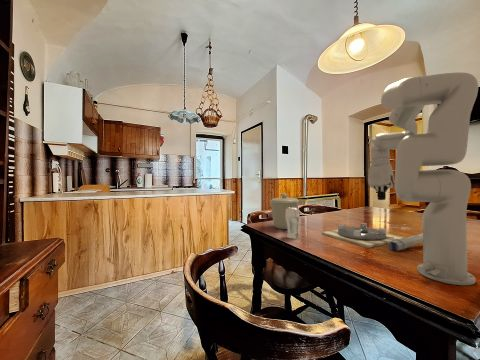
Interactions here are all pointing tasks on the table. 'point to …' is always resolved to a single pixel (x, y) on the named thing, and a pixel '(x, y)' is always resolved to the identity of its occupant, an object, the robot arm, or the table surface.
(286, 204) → the canister
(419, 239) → the grey flashlight
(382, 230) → the ring nut
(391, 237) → the nut board
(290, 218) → the beer glass
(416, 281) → the table surface
